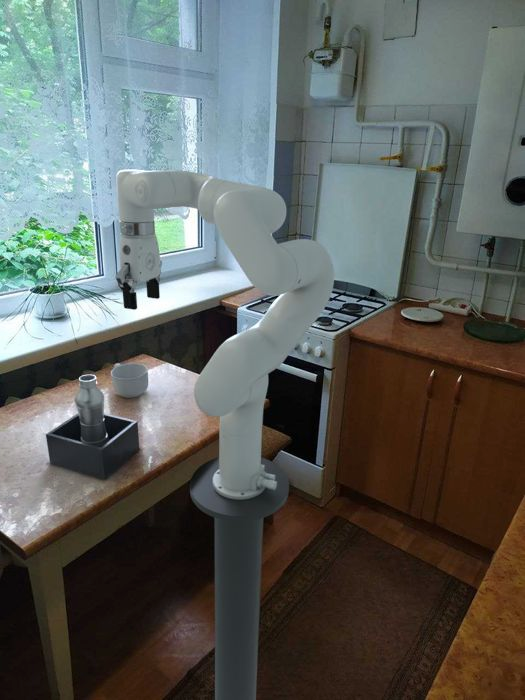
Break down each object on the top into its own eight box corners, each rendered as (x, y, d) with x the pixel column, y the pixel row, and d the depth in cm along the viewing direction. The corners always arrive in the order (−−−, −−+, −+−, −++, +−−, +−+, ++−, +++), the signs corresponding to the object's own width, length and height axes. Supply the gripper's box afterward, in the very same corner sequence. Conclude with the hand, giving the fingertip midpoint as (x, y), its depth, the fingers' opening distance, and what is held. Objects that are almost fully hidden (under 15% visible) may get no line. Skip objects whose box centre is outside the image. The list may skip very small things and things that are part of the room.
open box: (139, 449, 123) (137, 421, 120) (104, 480, 112) (101, 449, 109) (88, 435, 128) (85, 408, 125) (50, 463, 117) (45, 434, 114)
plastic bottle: (99, 463, 116) (90, 386, 108) (75, 456, 118) (65, 380, 110) (115, 448, 121) (108, 375, 114) (92, 442, 123) (84, 369, 116)
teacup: (154, 396, 150) (153, 372, 147) (119, 405, 144) (117, 380, 141) (137, 379, 160) (136, 356, 157) (104, 386, 154) (102, 363, 151)
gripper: (130, 235, 101) (135, 315, 108) (171, 225, 116) (174, 296, 123) (99, 232, 103) (106, 311, 110) (144, 223, 119) (148, 292, 125)
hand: (142, 303), depth 116 cm, fingers open, 9 cm apart
